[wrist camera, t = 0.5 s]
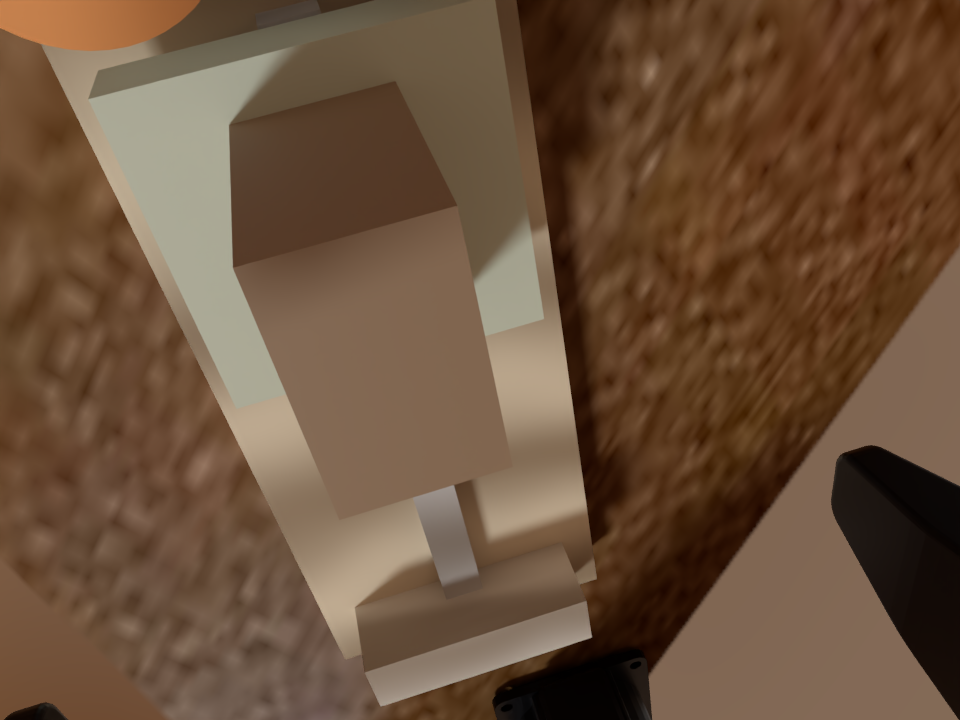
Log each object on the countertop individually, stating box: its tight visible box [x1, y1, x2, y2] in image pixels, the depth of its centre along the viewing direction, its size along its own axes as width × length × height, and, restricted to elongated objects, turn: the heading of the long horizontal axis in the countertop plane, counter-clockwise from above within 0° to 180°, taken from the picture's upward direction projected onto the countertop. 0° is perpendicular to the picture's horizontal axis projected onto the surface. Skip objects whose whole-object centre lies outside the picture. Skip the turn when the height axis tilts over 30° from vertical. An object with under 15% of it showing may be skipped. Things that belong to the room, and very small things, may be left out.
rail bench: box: [41, 0, 597, 706], centre depth 20 cm, size 26×9×6 cm, turn 10°
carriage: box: [88, 0, 544, 520], centre depth 15 cm, size 7×7×6 cm
